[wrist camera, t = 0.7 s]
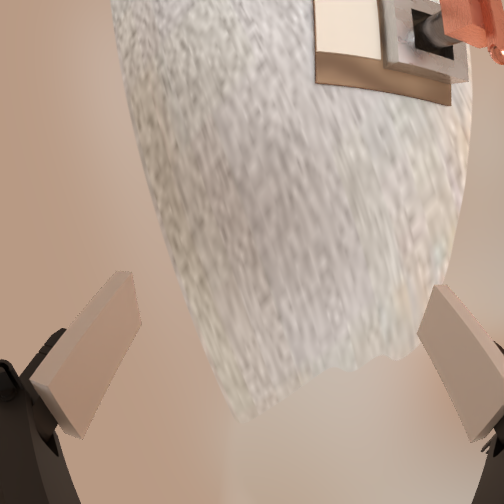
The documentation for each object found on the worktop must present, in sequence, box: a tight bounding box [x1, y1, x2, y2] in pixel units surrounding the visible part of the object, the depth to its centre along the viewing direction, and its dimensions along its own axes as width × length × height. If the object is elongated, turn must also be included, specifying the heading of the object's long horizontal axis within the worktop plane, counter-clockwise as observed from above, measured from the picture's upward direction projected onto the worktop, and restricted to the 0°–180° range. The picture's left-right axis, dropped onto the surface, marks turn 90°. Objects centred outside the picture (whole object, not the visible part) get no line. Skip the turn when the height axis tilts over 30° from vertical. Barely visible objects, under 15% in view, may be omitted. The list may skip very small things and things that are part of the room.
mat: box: [314, 0, 381, 61], centre depth 27 cm, size 10×8×1 cm
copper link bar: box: [413, 0, 504, 65], centre depth 19 cm, size 11×5×18 cm, turn 0°
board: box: [313, 0, 451, 106], centre depth 27 cm, size 16×19×1 cm
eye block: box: [379, 0, 469, 84], centre depth 25 cm, size 10×10×5 cm
